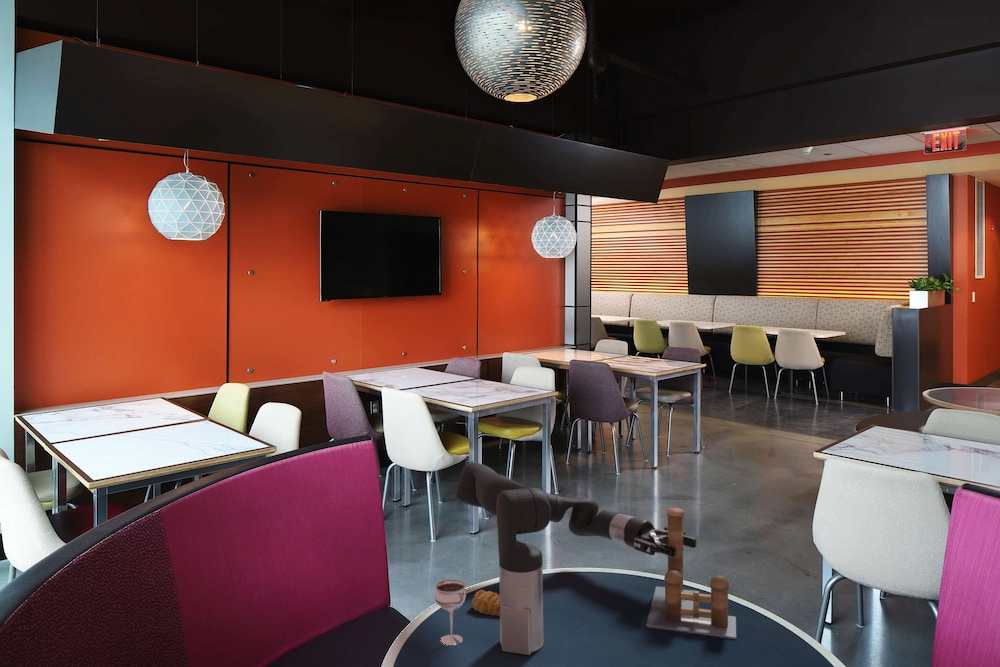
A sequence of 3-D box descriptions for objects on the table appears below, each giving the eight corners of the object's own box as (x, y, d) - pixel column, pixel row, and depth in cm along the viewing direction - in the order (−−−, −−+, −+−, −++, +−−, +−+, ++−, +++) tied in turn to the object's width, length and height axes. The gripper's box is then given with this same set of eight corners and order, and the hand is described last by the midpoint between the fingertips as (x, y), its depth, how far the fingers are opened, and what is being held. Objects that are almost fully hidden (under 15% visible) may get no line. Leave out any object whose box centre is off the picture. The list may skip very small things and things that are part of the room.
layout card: (736, 639, 148) (736, 636, 148) (646, 626, 154) (646, 624, 154) (735, 597, 169) (735, 595, 169) (656, 587, 175) (656, 585, 175)
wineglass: (447, 651, 145) (446, 595, 144) (429, 639, 150) (428, 585, 150) (473, 640, 149) (472, 586, 149) (455, 629, 155) (454, 576, 154)
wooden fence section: (682, 612, 159) (682, 523, 158) (664, 610, 160) (664, 522, 159) (684, 591, 170) (684, 508, 169) (667, 589, 171) (667, 507, 170)
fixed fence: (728, 631, 152) (729, 580, 151) (663, 622, 156) (663, 573, 156) (728, 623, 156) (729, 573, 155) (665, 615, 160) (665, 566, 159)
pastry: (516, 609, 164) (516, 594, 164) (501, 621, 159) (500, 605, 159) (484, 600, 170) (484, 585, 169) (468, 611, 164) (467, 595, 164)
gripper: (648, 538, 184) (702, 555, 171) (613, 552, 174) (668, 571, 162) (648, 511, 183) (702, 525, 171) (613, 523, 174) (668, 540, 162)
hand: (685, 548), depth 167 cm, fingers open, 8 cm apart
